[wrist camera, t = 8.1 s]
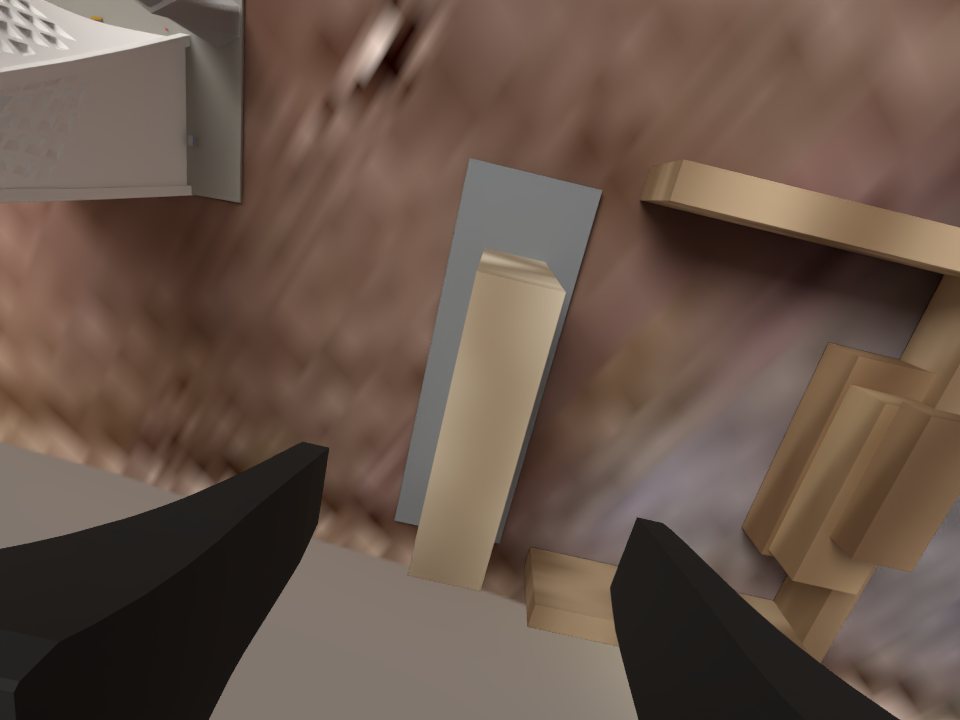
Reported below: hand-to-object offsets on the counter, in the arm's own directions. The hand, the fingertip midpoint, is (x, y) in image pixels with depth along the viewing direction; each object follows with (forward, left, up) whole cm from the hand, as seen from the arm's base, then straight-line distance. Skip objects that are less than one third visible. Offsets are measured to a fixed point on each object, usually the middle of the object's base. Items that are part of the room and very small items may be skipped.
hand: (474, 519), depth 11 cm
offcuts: (-14, 0, -10) cm, 18 cm away
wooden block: (0, 0, -10) cm, 10 cm away
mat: (0, 0, -10) cm, 10 cm away
